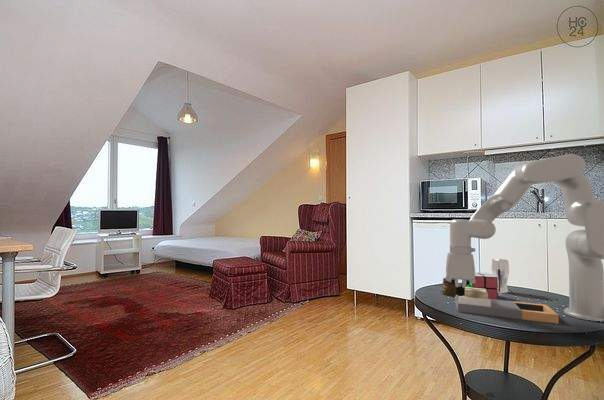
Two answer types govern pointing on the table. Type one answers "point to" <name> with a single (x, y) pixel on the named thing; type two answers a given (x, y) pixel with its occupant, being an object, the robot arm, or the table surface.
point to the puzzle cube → (486, 284)
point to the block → (476, 293)
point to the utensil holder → (448, 288)
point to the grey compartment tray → (505, 308)
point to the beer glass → (501, 273)
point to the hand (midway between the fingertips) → (460, 296)
